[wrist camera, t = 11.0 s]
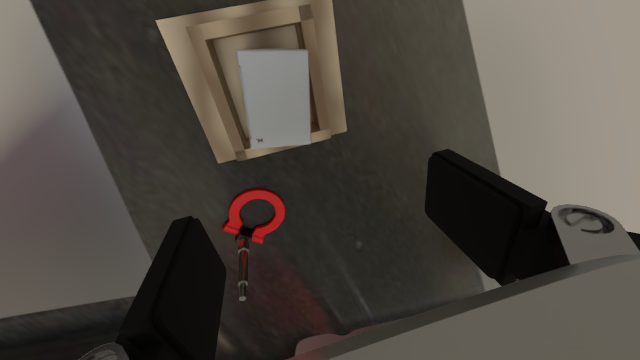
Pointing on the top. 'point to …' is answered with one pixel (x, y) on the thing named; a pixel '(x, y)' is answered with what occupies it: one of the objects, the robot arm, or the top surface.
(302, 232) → the top surface
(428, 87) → the top surface
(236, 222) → the tow hook
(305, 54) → the small box
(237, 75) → the well
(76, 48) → the top surface
